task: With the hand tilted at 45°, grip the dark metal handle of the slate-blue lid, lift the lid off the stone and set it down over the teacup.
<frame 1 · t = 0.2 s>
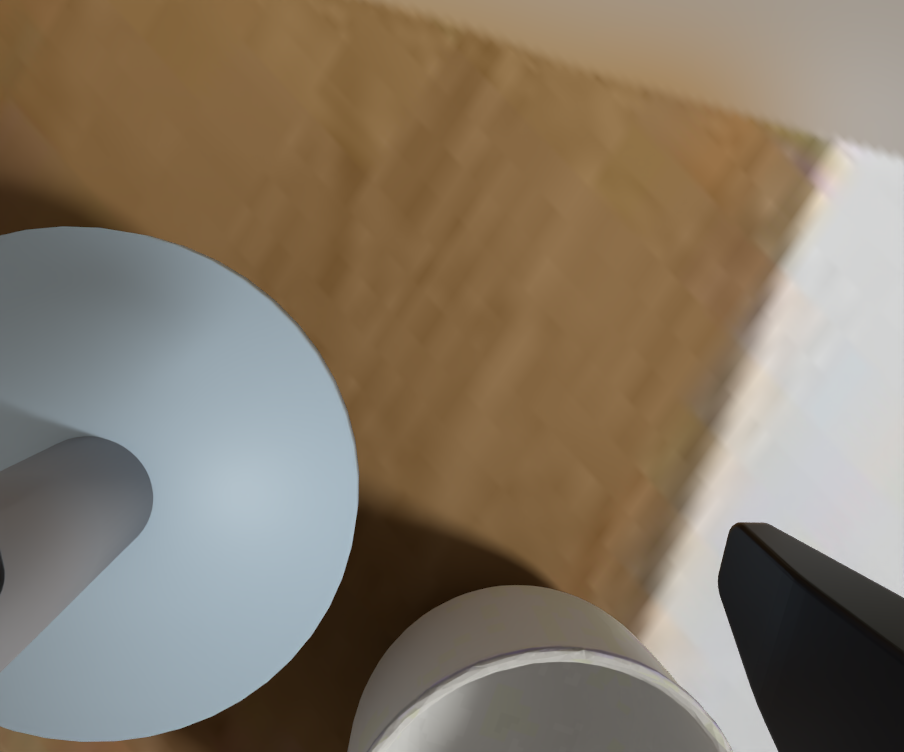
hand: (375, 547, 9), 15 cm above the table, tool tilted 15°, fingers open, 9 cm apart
lid: (106, 484, 19), point 5 cm above the table, touching stone
teacup: (535, 712, 26), on the table
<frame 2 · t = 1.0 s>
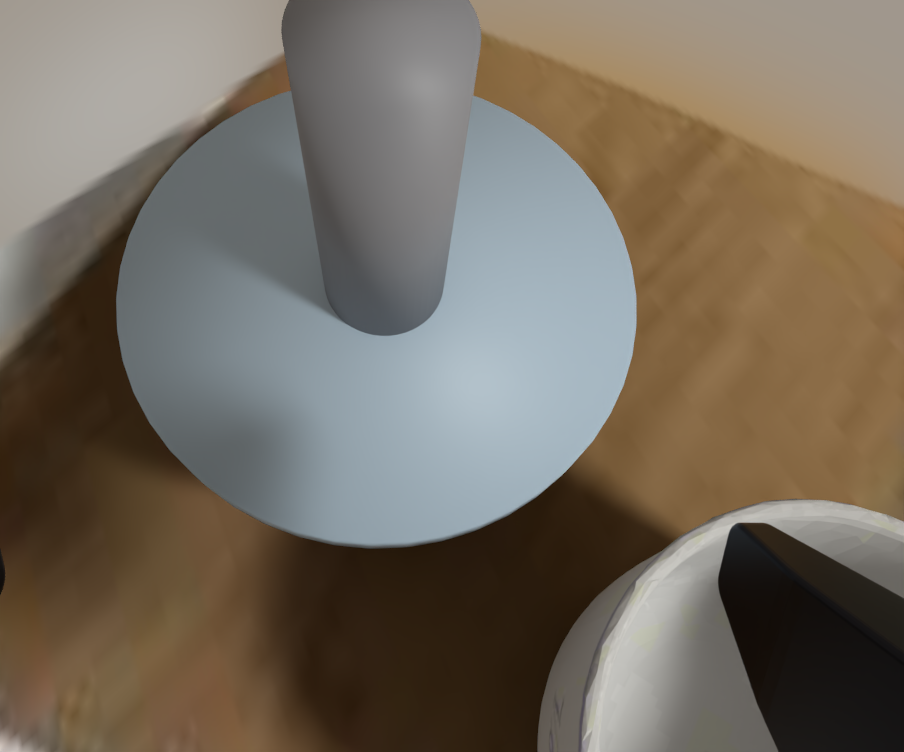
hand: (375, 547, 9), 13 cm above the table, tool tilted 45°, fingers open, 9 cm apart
lid: (384, 299, 19), point 5 cm above the table, touching stone
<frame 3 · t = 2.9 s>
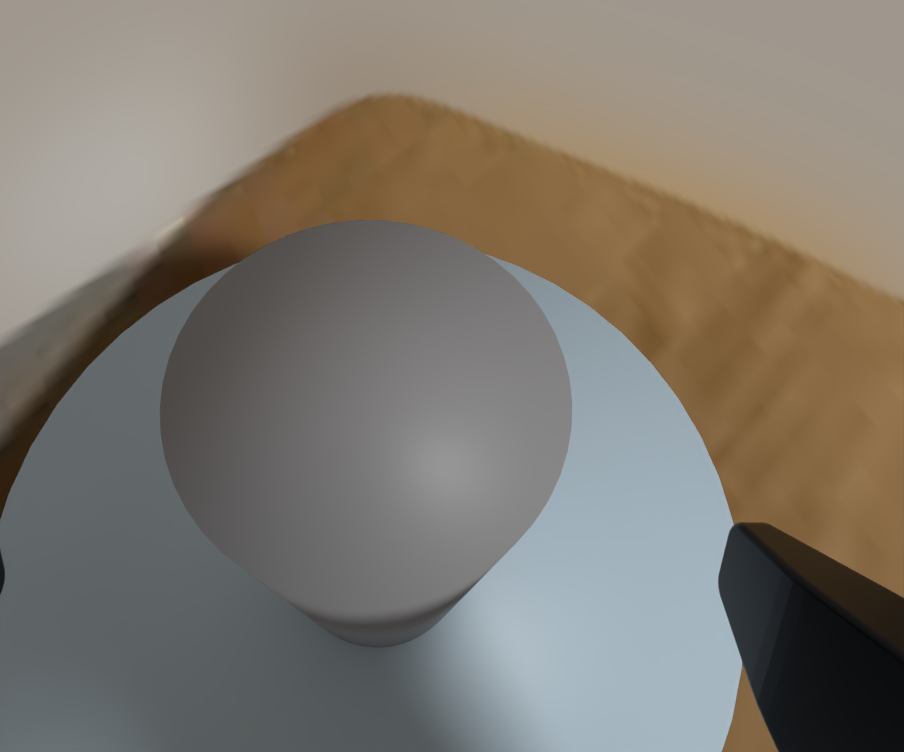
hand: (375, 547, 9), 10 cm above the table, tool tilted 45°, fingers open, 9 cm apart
lid: (380, 563, 14), point 5 cm above the table, touching stone
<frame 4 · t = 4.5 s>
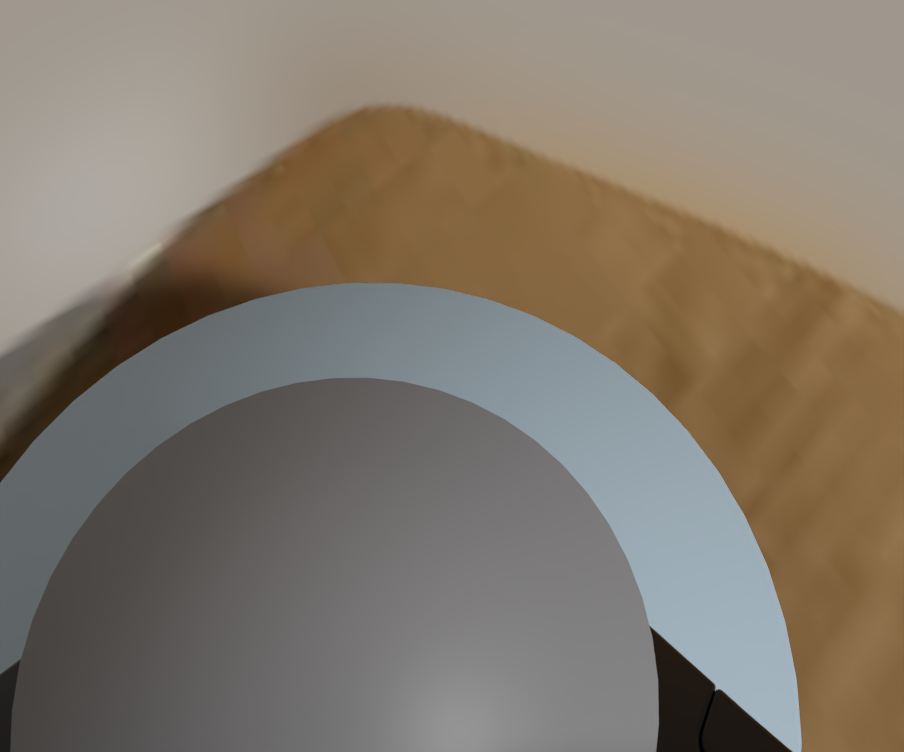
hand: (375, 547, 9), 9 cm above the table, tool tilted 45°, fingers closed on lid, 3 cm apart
lid: (375, 668, 12), point 5 cm above the table, touching gripper, stone
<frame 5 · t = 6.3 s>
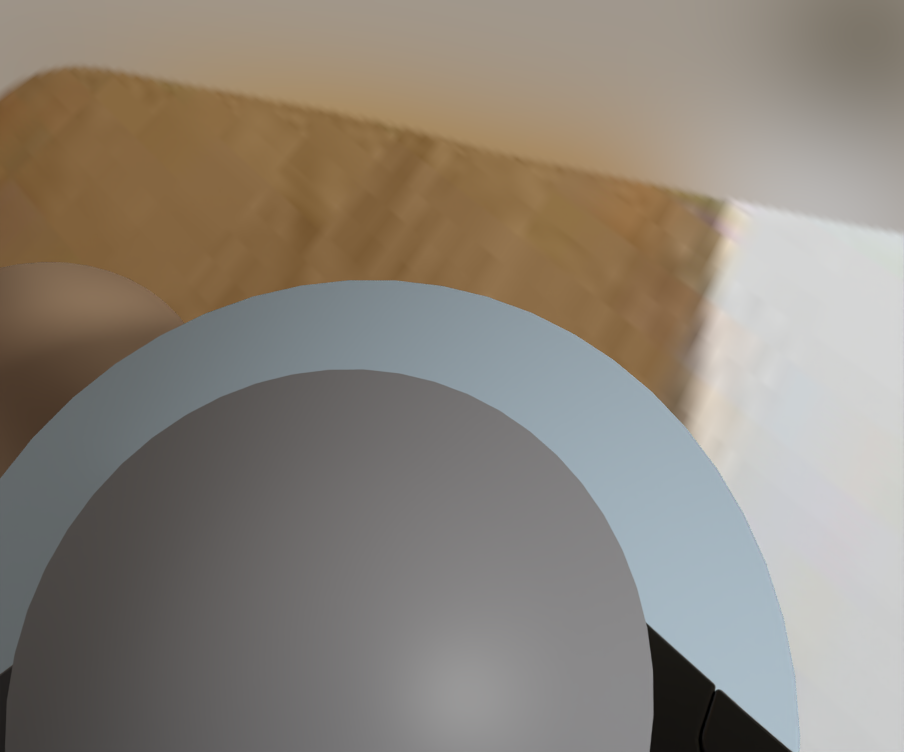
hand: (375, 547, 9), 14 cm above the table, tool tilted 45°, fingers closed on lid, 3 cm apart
lid: (374, 665, 12), point 10 cm above the table, touching gripper
stone: (98, 472, 22), on the table
when the fingers open (12 cm above the table, at t = 7.8 s): lid stays where it is, resting on teacup.
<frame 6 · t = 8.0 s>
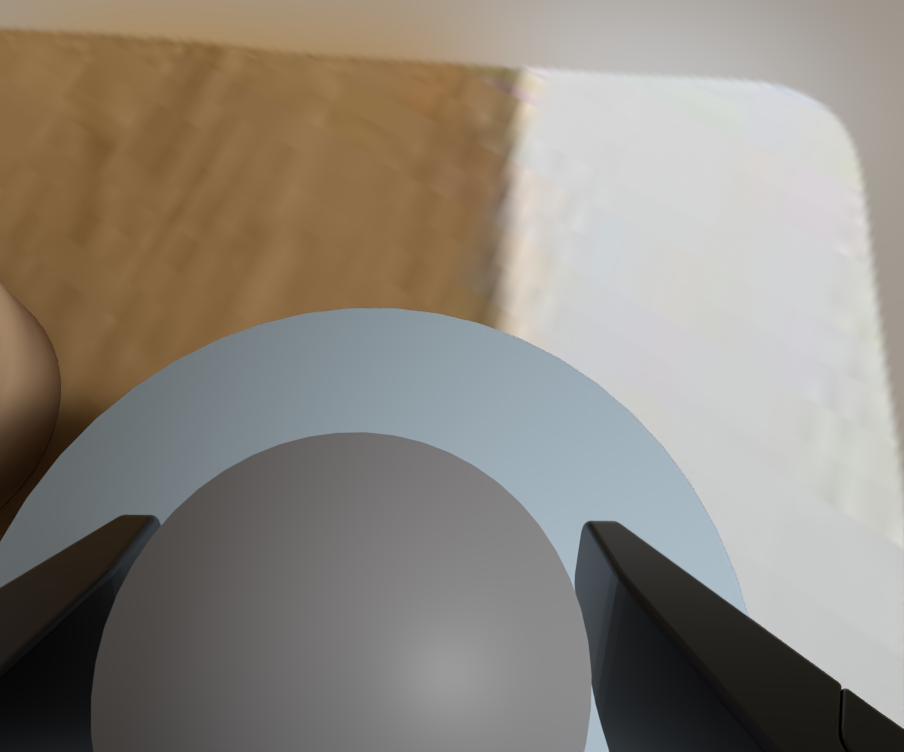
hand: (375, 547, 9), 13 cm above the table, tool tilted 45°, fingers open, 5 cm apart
lid: (373, 666, 13), point 8 cm above the table, touching teacup
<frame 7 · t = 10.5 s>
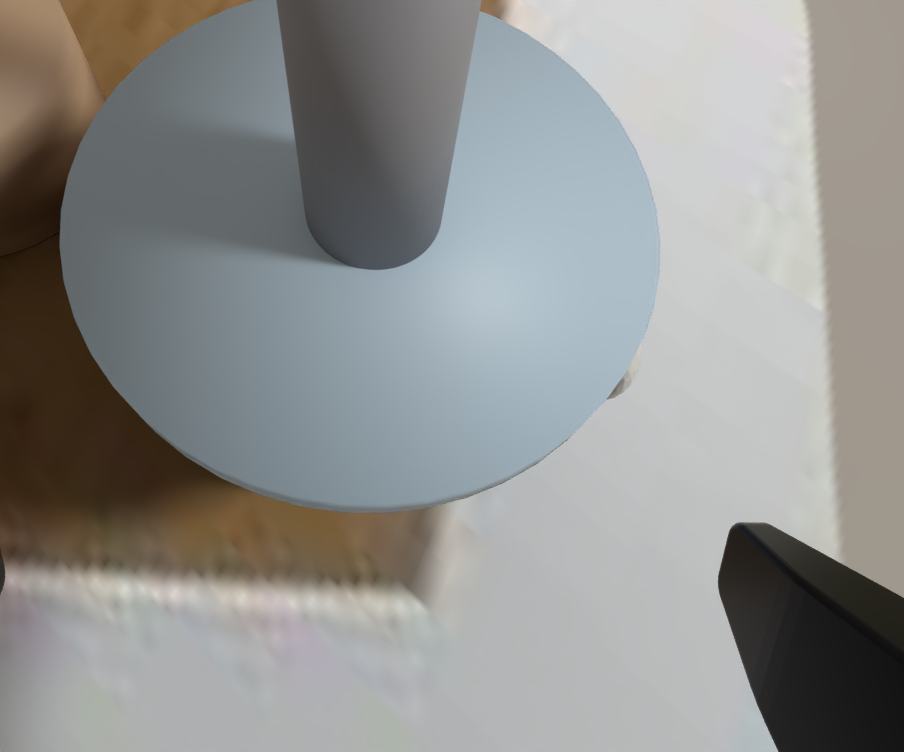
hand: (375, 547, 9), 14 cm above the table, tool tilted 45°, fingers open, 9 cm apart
lid: (373, 233, 17), point 8 cm above the table, touching teacup
teacup: (375, 365, 25), on the table, touching lid
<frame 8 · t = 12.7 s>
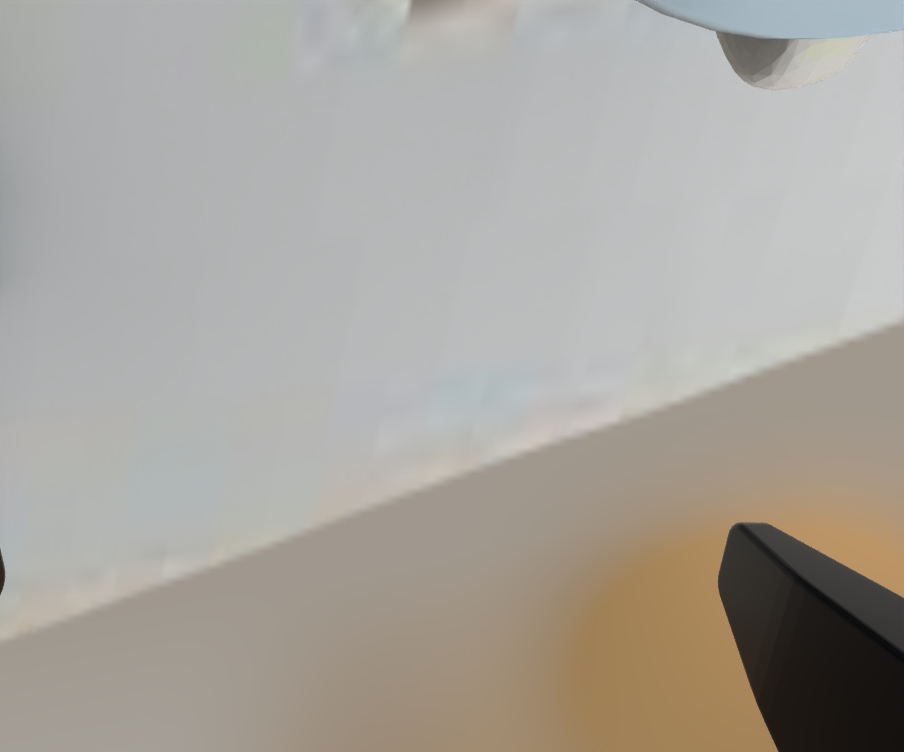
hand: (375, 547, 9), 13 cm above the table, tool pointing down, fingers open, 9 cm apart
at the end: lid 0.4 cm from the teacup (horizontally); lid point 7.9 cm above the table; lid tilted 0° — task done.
